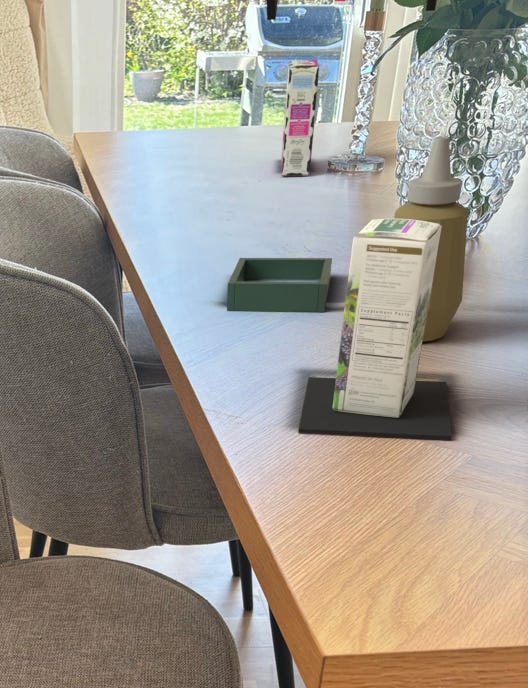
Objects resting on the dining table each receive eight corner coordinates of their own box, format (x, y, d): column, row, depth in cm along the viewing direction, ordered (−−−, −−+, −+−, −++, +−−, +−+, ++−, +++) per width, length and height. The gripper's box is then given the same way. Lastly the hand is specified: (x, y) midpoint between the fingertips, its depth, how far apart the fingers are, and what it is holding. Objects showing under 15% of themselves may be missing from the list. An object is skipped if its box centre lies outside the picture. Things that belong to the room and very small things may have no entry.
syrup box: (348, 388, 89) (367, 216, 80) (416, 395, 86) (443, 219, 78) (331, 411, 85) (349, 233, 76) (402, 420, 82) (429, 237, 74)
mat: (445, 385, 89) (446, 381, 88) (451, 440, 79) (452, 436, 79) (308, 381, 92) (308, 376, 92) (298, 433, 82) (298, 428, 82)
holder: (329, 284, 116) (332, 258, 114) (324, 312, 108) (327, 284, 106) (238, 283, 119) (239, 257, 117) (226, 310, 111) (227, 283, 109)
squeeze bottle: (355, 337, 101) (377, 141, 90) (399, 317, 105) (425, 128, 94) (428, 353, 95) (460, 148, 85) (471, 331, 100) (507, 133, 89)
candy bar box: (311, 176, 167) (320, 64, 157) (281, 177, 168) (288, 66, 158) (309, 163, 176) (317, 57, 166) (280, 165, 177) (287, 59, 167)
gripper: (513, -180, 90) (494, 28, 87) (236, -152, 96) (210, 42, 93) (532, -266, 83) (513, -43, 80) (232, -230, 89) (204, -22, 86)
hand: (350, 3), depth 87 cm, fingers open, 13 cm apart
